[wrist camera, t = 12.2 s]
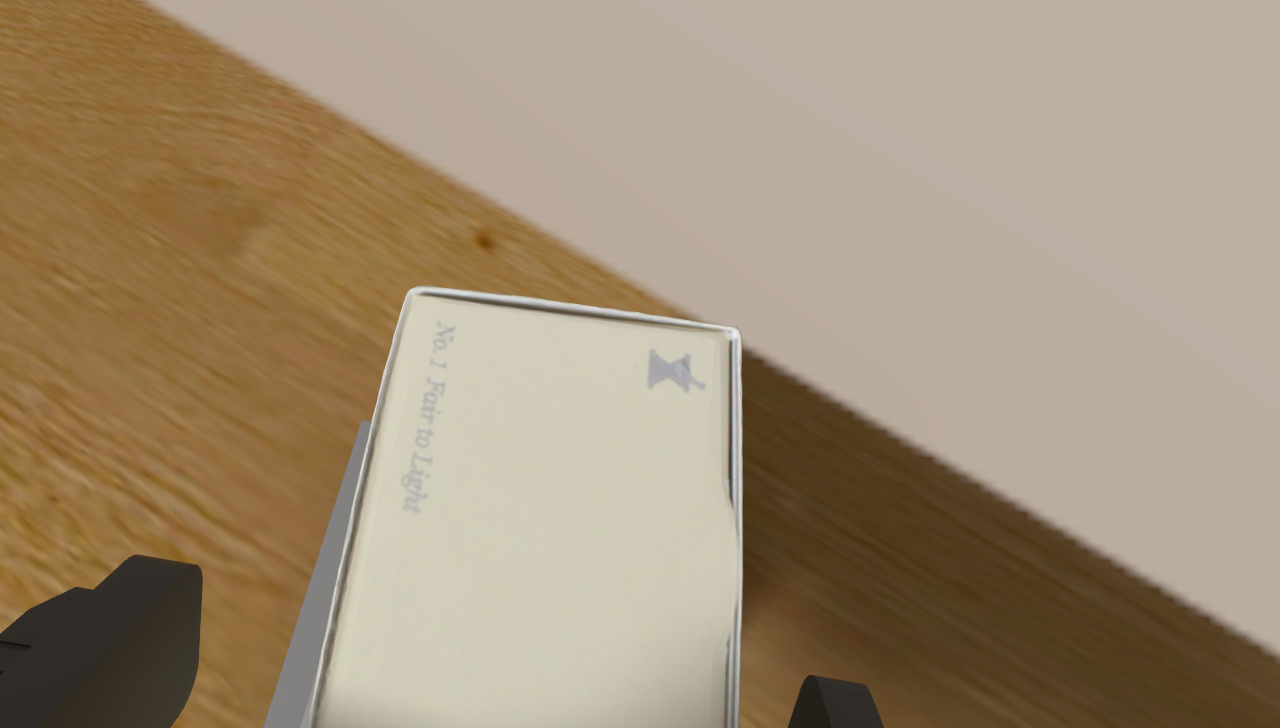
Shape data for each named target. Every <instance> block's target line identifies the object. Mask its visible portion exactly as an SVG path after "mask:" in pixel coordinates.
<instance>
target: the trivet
mask: <svg viewBox="0 0 1280 728" xmlns="http://www.w3.org/2000/svg"><path fill="white" fill-rule="evenodd" d="M371 423H372V422H369V421H363V420H362V422H361V425H360V428H359V431H358V434H357V437H356V440H355V444H354V447H353V450H352V453H351V456H350V459H349V462H348V465H347V468H346V472H345V475H344V478H343V481H342V484H341V487H340V490H339V493H338V496H337V500H336V503H335V506H334V509H333V512H332V515H331V518H330V521H329V524H328V528H327V531H326V534H325V537H324V540H323V543H322V546H321V549H320V552H319V556H318V559H317V562H316V565H315V568H314V571H313V574H312V577H311V581H310V584H309V587H308V590H307V593H306V596H305V599H304V602H303V605H302V609H301V612H300V615H299V618H298V621H297V624H296V627H295V630H294V633H293V637H292V640H291V643H290V646H289V649H288V652H287V655H286V658H285V661H284V665H283V668H282V671H281V674H280V677H279V680H278V683H277V686H276V689H275V693H274V696H273V699H272V702H271V705H270V708H269V711H268V714H267V717H266V721H265V724H264V727H263V728H306V727H307V722H308V717H309V713H310V708H311V702H312V697H313V692H314V687H315V681H316V676H317V671H318V666H319V660H320V655H321V650H322V646H323V641H324V637H325V633H326V628H327V623H328V618H329V613H330V608H331V603H332V598H333V593H334V589H335V584H336V580H337V575H338V569H339V565H340V562H341V557H342V552H343V547H344V542H345V538H346V534H347V529H348V525H349V520H350V514H351V509H352V505H353V500H354V496H355V492H356V487H357V483H358V478H359V474H360V470H361V465H362V461H363V457H364V453H365V448H366V445H367V441H368V437H369V432H370V427H371Z"/></svg>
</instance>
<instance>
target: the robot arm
mask: <svg viewBox="0 0 1280 728" xmlns="http://www.w3.org/2000/svg"><path fill="white" fill-rule="evenodd" d="M202 584H203V577H202V571H201V569H200V567H199V566H198V565H195V564H189V563H183V562H178V561H172V560H166V559H161V558H155V557H149V556H144V555H133V556H131V557H129V558H128V559H127V560H125V561H124V562H123V563H122V564H121V565H120V566H119V567H118V568H117V569H116V570H114V571H113V572H112V573H111V574H110V575H109V576H108V577H107V578H106V579H105V580H104V581H102V582H101V583H100V584H99V585H98V586H97V587H96V588H95V589H94V590H91V589H85V588H80V587H75V588H73V589H71V590H69V591H66V592H64V593H62V594H60V595H58V596H56V597H54V598H52V599H50V600H48V601H45V602H43V603H41V604H39V605H37V606H35V607H33V608H31V609H29V610H28V611H26V612H25V613H24V614H23V615H22V616H21V617H19V618H18V619H17V620H16V621H15V622H13V623H12V624H11V625H10V626H9V627H8V628H6V629H5V630H4V631H3V632H2V633H1V634H0V728H170V727H171V726H172V724H173V723H174V722H175V720H176V719H177V717H178V716H179V714H180V713H181V711H182V710H183V708H184V706H185V704H186V702H187V700H188V698H189V695H190V693H191V690H192V688H193V685H194V681H195V678H196V674H197V669H198V661H199V642H200V623H201V603H202ZM788 728H884V726H883V724H882V721H881V719H880V716H879V714H878V711H877V708H876V706H875V703H874V701H873V698H872V696H871V693H870V691H869V689H868V688H867V686H865V685H864V684H859V683H853V682H848V681H842V680H836V679H831V678H825V677H819V676H814V675H809V676H808V677H807V678H806V679H805V680H804V682H803V684H802V687H801V689H800V692H799V695H798V698H797V701H796V704H795V707H794V710H793V713H792V716H791V719H790V722H789V725H788Z"/></svg>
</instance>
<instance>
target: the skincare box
mask: <svg viewBox="0 0 1280 728" xmlns="http://www.w3.org/2000/svg"><path fill="white" fill-rule="evenodd" d="M741 370H742V339H741V333H740V331H739V330H738V328H737V327H730V326H723V325H714V324H705V323H700V322H695V321H690V320H684V319H677V318H669V317H663V316H655V315H648V314H643V313H639V312H628V311H623V310H618V309H609V308H602V307H594V306H586V305H579V304H572V303H563V302H556V301H550V300H545V299H540V298H529V297H522V296H513V295H504V294H495V293H486V292H477V291H468V290H459V289H449V288H440V287H434V286H417V287H415V288H412V289H411V290H409V291H408V292H407V295H406V298H405V300H404V303H403V307H402V310H401V313H400V317H399V320H398V323H397V327H396V330H395V334H394V337H393V341H392V346H391V350H390V353H389V357H388V360H387V363H386V366H385V370H384V373H383V378H382V382H381V386H380V391H379V395H378V399H377V403H376V407H375V411H374V414H373V418H372V423H371V427H370V432H369V437H368V441H367V445H366V448H365V453H364V457H363V461H362V465H361V470H360V474H359V478H358V483H357V487H356V492H355V496H354V500H353V505H352V509H351V514H350V520H349V525H348V529H347V534H346V538H345V542H344V547H343V552H342V557H341V562H340V565H339V569H338V575H337V580H336V584H335V589H334V593H333V598H332V603H331V608H330V613H329V618H328V623H327V628H326V633H325V637H324V641H323V646H322V650H321V655H320V660H319V666H318V671H317V676H316V681H315V687H314V692H313V697H312V702H311V708H310V713H309V717H308V722H307V727H306V728H739V701H740V673H741V636H742V602H743V462H742V376H741Z"/></svg>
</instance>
